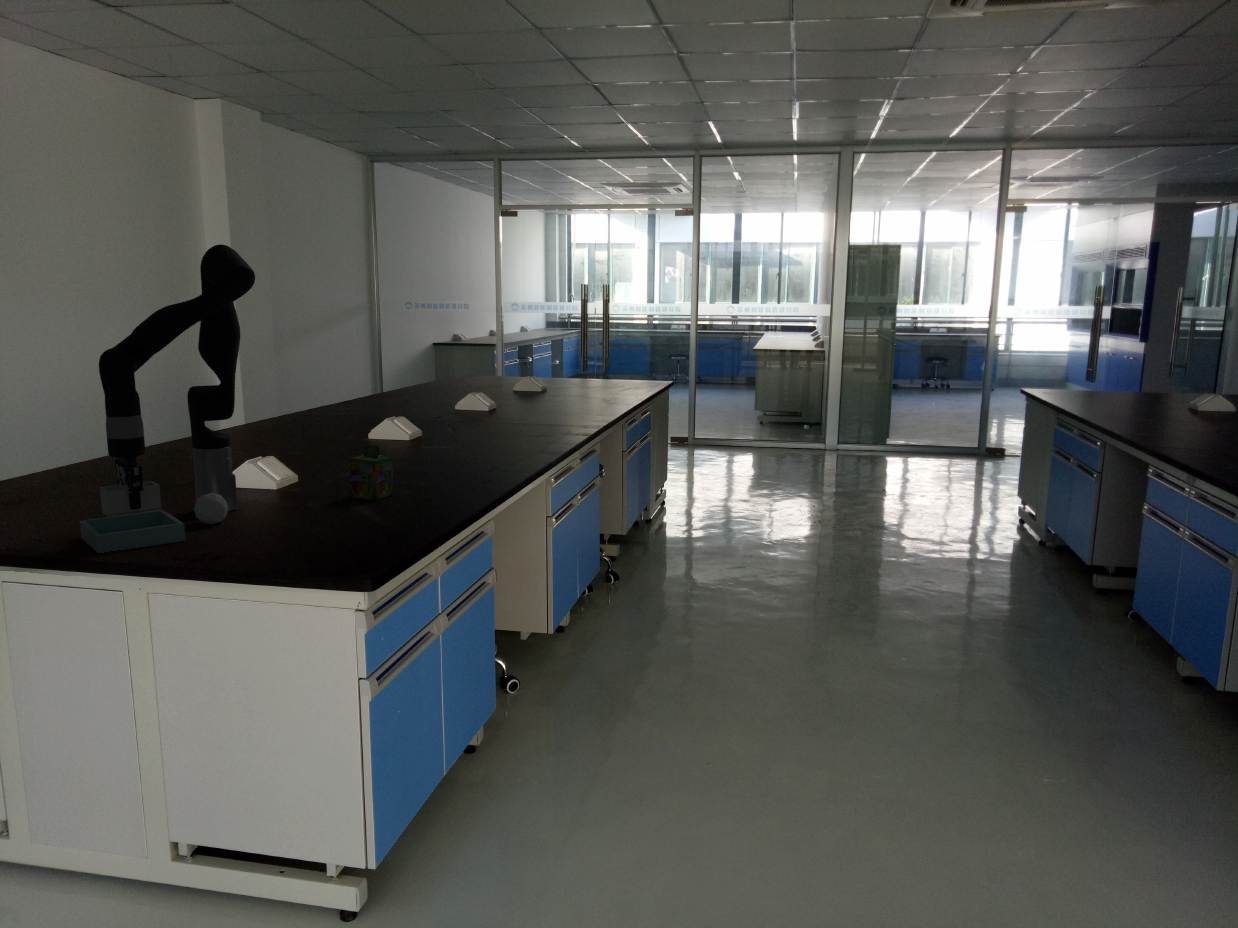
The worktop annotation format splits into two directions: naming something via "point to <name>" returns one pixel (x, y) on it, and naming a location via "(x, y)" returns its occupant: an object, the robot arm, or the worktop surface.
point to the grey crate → (118, 499)
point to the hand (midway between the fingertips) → (131, 506)
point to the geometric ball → (211, 508)
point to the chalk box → (370, 475)
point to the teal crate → (132, 531)
